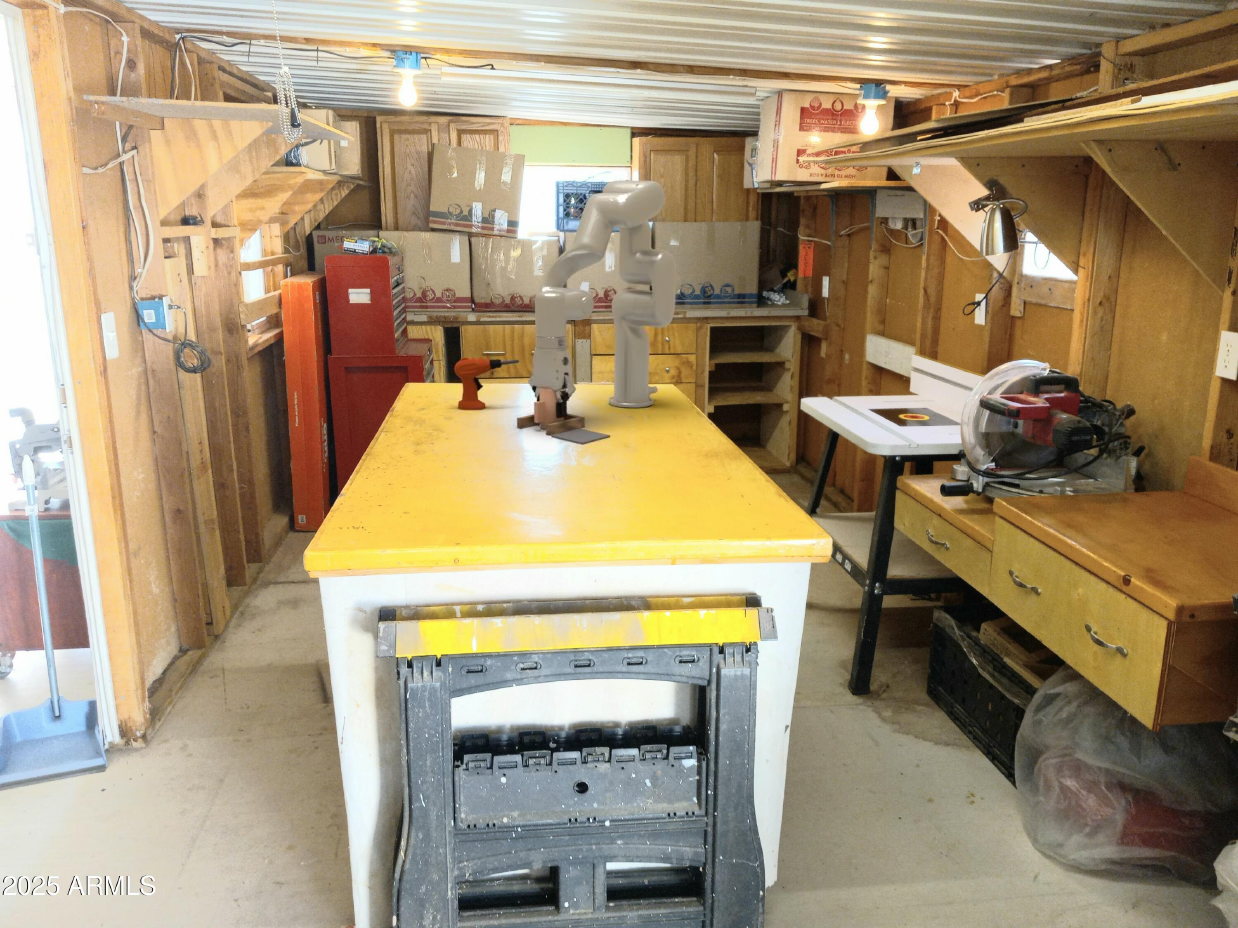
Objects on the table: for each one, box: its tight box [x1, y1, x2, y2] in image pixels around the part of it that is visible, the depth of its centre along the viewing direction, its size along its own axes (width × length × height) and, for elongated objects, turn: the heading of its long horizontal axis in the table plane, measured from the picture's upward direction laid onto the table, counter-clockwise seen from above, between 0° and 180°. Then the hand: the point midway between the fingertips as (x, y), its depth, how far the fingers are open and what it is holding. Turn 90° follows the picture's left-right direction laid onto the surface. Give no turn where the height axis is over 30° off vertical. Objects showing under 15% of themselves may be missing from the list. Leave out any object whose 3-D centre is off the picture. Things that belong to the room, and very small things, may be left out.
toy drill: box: [453, 356, 520, 411], centre depth 248 cm, size 5×18×14 cm, turn 96°
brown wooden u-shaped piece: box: [516, 413, 586, 436], centre depth 229 cm, size 12×11×2 cm
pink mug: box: [533, 387, 564, 430], centre depth 227 cm, size 8×6×10 cm
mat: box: [550, 428, 611, 445], centre depth 220 cm, size 10×10×1 cm
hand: (551, 414), depth 229 cm, fingers closed on pink mug, 6 cm apart
